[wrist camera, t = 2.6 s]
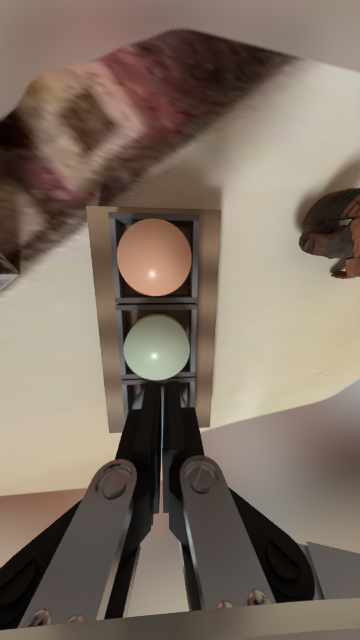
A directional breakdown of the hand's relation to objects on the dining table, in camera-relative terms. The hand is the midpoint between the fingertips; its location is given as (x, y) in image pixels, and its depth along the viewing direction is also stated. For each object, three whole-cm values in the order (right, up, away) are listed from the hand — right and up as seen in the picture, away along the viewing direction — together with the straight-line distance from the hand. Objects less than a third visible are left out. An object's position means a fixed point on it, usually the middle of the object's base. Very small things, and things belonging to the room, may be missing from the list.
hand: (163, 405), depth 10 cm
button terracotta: (-1, +10, +8) cm, 13 cm away
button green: (-1, +2, +10) cm, 10 cm away
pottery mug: (+19, +14, +14) cm, 28 cm away
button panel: (-2, +3, +15) cm, 15 cm away
